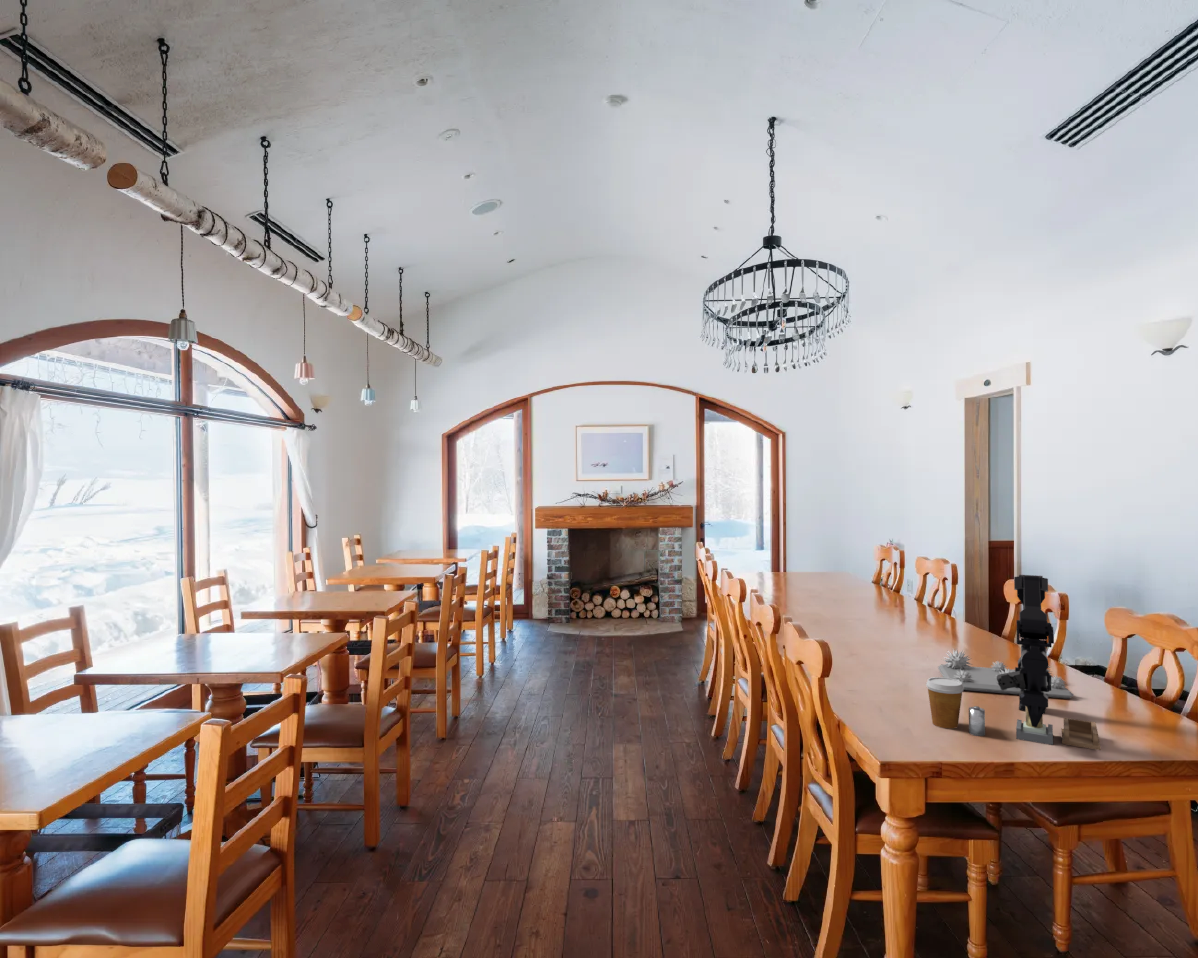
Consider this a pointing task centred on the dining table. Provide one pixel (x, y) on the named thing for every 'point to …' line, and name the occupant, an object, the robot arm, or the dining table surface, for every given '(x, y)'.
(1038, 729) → the checker pad
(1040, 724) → the cell bronze
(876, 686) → the dining table surface
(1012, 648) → the dining table surface
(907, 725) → the dining table surface
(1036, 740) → the base
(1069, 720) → the wooden open box
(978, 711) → the cell steel
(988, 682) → the decorative tray
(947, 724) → the disposable coffee cup
